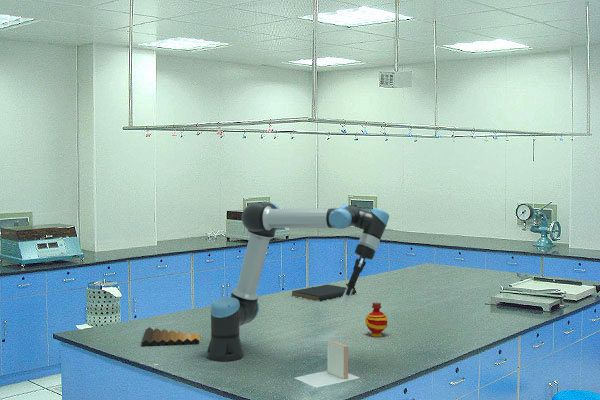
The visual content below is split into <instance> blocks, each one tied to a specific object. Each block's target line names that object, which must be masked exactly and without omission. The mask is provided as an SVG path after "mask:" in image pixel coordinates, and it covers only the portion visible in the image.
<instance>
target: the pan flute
mask: <svg viewBox="0 0 600 400" xmlns="http://www.w3.org/2000/svg"><path fill="white" fill-rule="evenodd" d="M143 334H144V335H143V337H142V340H141V345H142V348H144V347H146V346H147V347H158V345H159V347H165V346H170V347H171V346H175V345H176V346H183V345H184V346H190V345H191V344H192V345H193V346H194V345H195V346H196V345H200V344H199V343H200V334H198V333H197V332H195V333H193V334H191V333H190V332H188V331H187V332H185V333H184V332H182V331H181V330H179V331H178V332H176V331H174V330H173V329H171V330H170V331H169V330H166V329H165V328H164V329H162V330H160V329H159V328H158V327H156V328H155V329H153V328H152V327H150V326H149V327H148V328H146V329H145V331H144V333H143ZM166 344H167V345H166Z"/></svg>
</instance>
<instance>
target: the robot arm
mask: <svg viewBox="0 0 600 400" xmlns="http://www.w3.org/2000/svg"><path fill="white" fill-rule="evenodd" d="M389 220H390V214H389V213H388V212H386V211H385V210H383V209H380V208H377V207H374V208H372V209H371V210H370V211H369V210H366V209H362V208H359V207H357V206H354V205H353V204H348V203H343V204H341V205H340V207H338V208H337V207H333V208H280V206H279V205H277V204H275V203H273V202H269V201H264V202H258V203H256V202H255V203H250V204H249V205H247V206H245V208H244V209H243V211H242V213H241V223H242V225H243V226H244V227H245V229H246V230H247V232H248V234H249V238H248V242H247V246H246V250H245V253H244V257H243V262H242V266H241V269H240V274H239V277H238V281H237V284H236V287H235V288H234V289H232V291H231V293H230V294H231V295H230V296H229V297H227V296H226V297H225V296H224V297H222V298H216V299H215V300H214V301H212V302H211V306H210V332H211V333H210V336H211V337H210V341H209V344H208V346H207V347H208V348H207V351H206V357H207V359H209V360H212V361H217V362H218V361H219V362H229V361H237V360H240V359H242V358H244V357H245V353H244V352H245V350H244V348H243V347H244V346H243V344H242V341H241V337H240V327H241V326H244V325H246V324H249V323H251V322H252V321H253V320H254V319H255V318H257V316H258V315H259V312H260V303H259V301H258V300H259V295H258V294H257V291H258V286H259V283H260V278H261V275H262V270H263V267H264V262H265V259H266V255H267V252H268V248H269V244H270V241H271V240H272V239H273V238H275V234H276V232H277V229H284V228H285V229H287V228H288V229H291V228H292V229H296V228H297V229H304V228H305V229H306V228H307V229H309V228H310V229H321V228H322V229H338V230H340V229H341V230H344V229H346V228H350V227H354V228H358V229H361V230H363V231H362V233H361V235H360V237H359V239H358V244H357V245H356V247H355V250H354V253H355V255H357V256H359V257H358V258H356V260H355V261H354V265H353V268H352V270H353V271H352V273H351V276H350V277H349V278H350V279H349V281H348V283H346V284H345V287H346V290H345V292H344V294H343V297H341V300H340V303H342V304H344V305H348V303H349V301H350V298H351V296H352V295H351V294H352V291H353V289H355V290H356V283H357V281H358V278H359V277H360V274H361V273H362V272H363V269H364V267H365V266H366V264H367V262H366V259H367V260H374V256H375V254H376V250H377V249H378V247H379V246H381V243H380V241H381V238H382V237H383V234H384V232H385V230H386V228H387V226H388V222H389Z"/></svg>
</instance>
